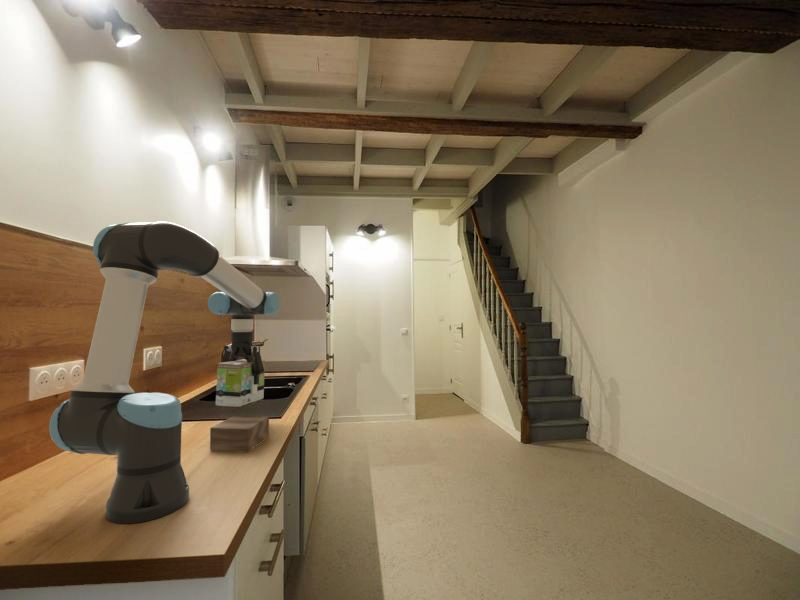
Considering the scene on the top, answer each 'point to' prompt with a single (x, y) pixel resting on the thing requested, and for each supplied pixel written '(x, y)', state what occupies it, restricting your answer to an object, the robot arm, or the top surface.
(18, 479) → the top surface
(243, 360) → the tea box
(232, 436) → the walnut riser
